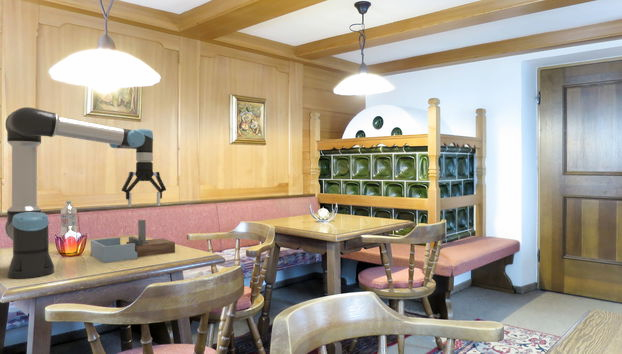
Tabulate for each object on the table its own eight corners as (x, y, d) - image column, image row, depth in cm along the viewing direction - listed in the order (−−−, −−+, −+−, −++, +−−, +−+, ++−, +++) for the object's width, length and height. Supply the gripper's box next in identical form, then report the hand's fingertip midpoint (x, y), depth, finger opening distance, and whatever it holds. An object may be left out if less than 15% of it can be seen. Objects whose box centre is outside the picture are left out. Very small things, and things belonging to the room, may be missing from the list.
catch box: (137, 258, 200) (137, 243, 200) (103, 263, 192) (103, 246, 191) (121, 251, 219) (121, 237, 219) (90, 254, 210) (90, 240, 210)
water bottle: (59, 253, 215) (58, 201, 215) (74, 251, 220) (73, 200, 220) (64, 254, 211) (63, 202, 210) (79, 252, 216) (78, 201, 215)
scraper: (151, 244, 209) (151, 221, 208) (138, 246, 205) (138, 222, 205) (141, 240, 220) (141, 218, 220) (128, 241, 217) (128, 219, 216)
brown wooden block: (175, 252, 215) (174, 242, 215) (136, 257, 204) (136, 246, 204) (163, 248, 228) (163, 238, 228) (126, 252, 216) (126, 242, 216)
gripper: (167, 162, 224) (167, 204, 224) (114, 161, 209) (114, 206, 209) (172, 162, 218) (172, 205, 218) (119, 161, 203) (119, 207, 203)
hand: (144, 206), depth 214 cm, fingers open, 13 cm apart
